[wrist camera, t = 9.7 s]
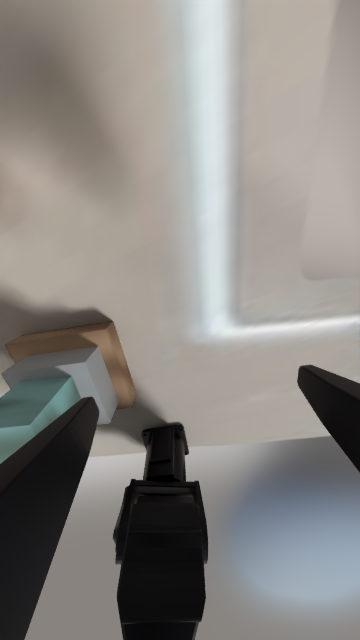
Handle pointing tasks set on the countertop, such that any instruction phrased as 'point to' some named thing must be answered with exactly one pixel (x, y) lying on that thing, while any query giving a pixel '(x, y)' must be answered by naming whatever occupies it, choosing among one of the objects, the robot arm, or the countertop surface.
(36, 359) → the grey block
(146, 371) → the countertop surface
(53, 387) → the teal block
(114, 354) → the walnut slab
